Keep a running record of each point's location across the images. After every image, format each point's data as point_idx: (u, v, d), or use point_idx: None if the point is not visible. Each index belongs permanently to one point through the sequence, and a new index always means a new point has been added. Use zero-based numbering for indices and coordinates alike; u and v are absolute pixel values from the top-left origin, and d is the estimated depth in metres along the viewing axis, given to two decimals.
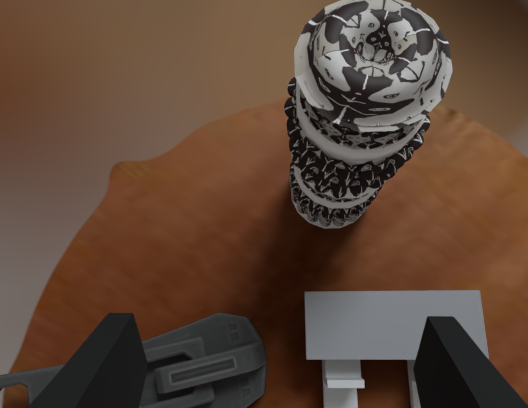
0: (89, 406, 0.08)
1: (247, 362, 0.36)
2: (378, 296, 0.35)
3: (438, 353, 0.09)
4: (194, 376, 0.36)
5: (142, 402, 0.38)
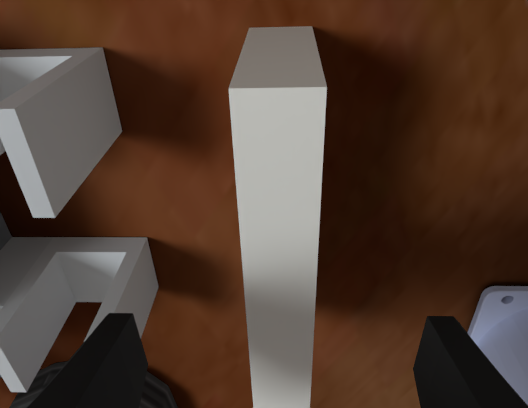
0: (89, 406, 0.08)
1: None
2: None
3: (438, 353, 0.09)
4: None
5: None
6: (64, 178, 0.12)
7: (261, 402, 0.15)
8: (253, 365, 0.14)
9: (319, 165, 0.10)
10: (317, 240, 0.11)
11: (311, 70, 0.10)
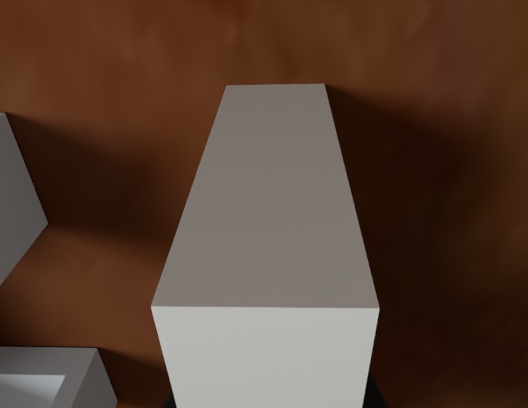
0: None
1: None
2: None
3: None
4: None
5: None
6: None
7: None
8: None
9: None
10: None
11: (337, 226, 0.05)
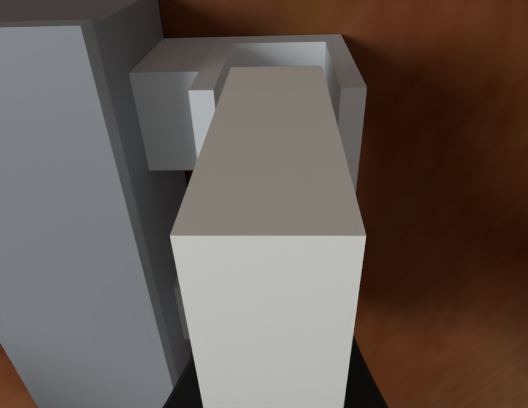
0: None
1: None
2: None
3: None
4: None
5: None
6: None
7: None
8: None
9: (345, 350, 0.05)
10: None
11: (331, 178, 0.05)
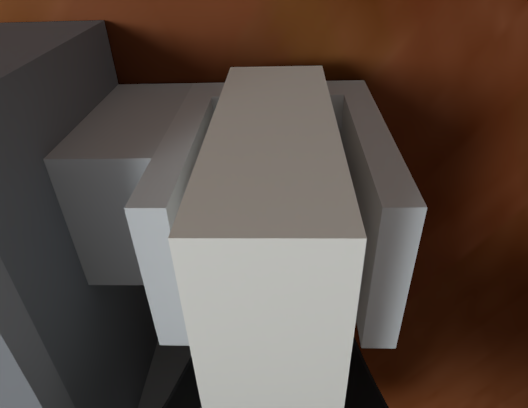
0: None
1: None
2: None
3: None
4: None
5: None
6: None
7: None
8: None
9: (345, 353, 0.05)
10: None
11: (331, 179, 0.05)
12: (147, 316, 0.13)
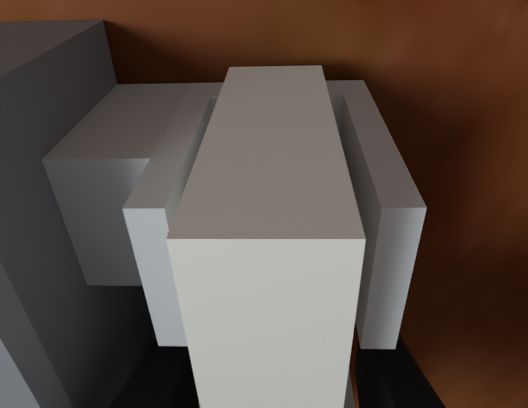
0: None
1: None
2: None
3: (368, 352, 0.09)
4: None
5: None
6: None
7: None
8: None
9: (344, 354, 0.05)
10: None
11: (330, 179, 0.05)
12: (147, 316, 0.13)
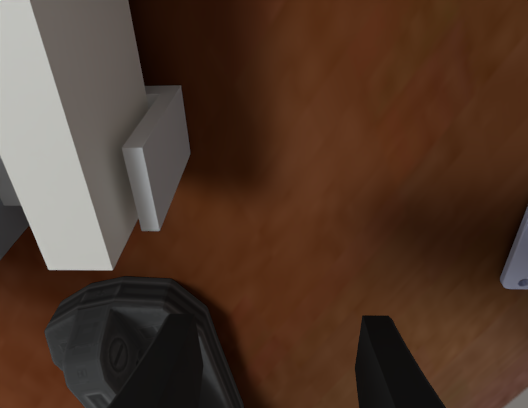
0: None
1: (88, 376, 0.19)
2: None
3: (368, 352, 0.09)
4: None
5: None
6: None
7: (50, 252, 0.12)
8: (19, 191, 0.11)
9: None
10: None
11: None
12: None
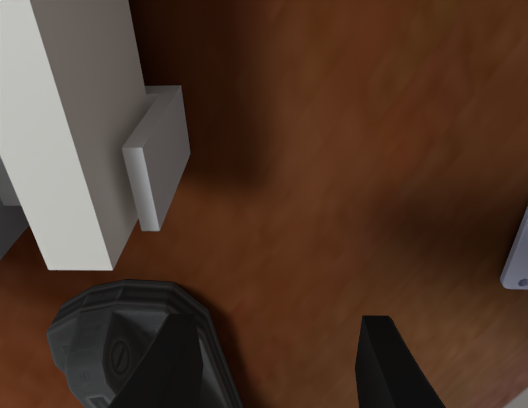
0: None
1: (90, 379, 0.19)
2: None
3: (368, 352, 0.09)
4: None
5: None
6: None
7: (50, 252, 0.12)
8: (19, 191, 0.11)
9: None
10: None
11: None
12: None
